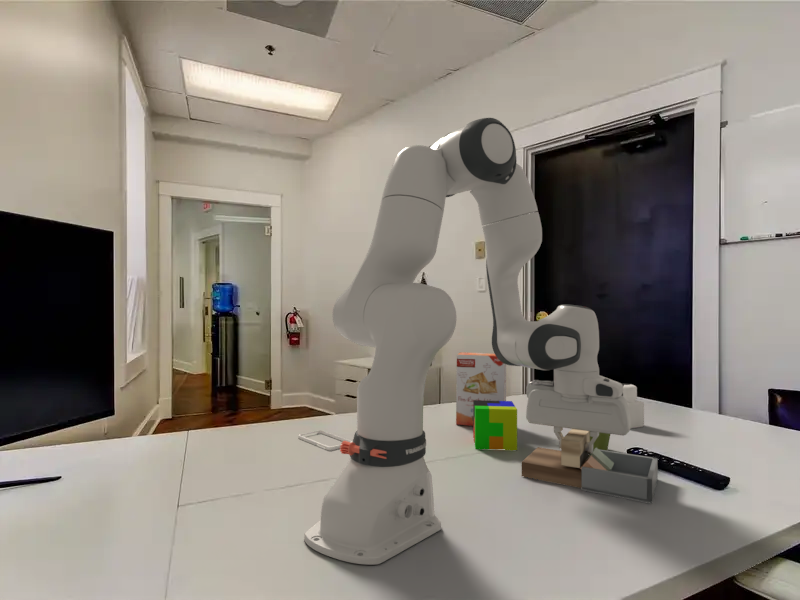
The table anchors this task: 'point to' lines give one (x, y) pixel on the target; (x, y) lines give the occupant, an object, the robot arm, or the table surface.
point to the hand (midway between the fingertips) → (576, 450)
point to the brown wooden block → (550, 468)
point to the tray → (624, 477)
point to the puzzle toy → (494, 425)
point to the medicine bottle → (633, 405)
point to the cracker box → (478, 383)
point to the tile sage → (602, 459)
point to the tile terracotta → (592, 464)
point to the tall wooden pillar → (574, 448)
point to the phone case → (323, 444)
